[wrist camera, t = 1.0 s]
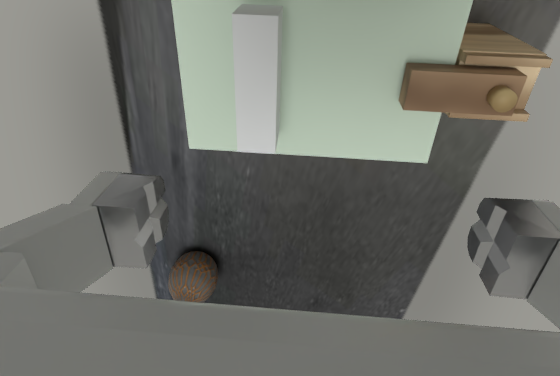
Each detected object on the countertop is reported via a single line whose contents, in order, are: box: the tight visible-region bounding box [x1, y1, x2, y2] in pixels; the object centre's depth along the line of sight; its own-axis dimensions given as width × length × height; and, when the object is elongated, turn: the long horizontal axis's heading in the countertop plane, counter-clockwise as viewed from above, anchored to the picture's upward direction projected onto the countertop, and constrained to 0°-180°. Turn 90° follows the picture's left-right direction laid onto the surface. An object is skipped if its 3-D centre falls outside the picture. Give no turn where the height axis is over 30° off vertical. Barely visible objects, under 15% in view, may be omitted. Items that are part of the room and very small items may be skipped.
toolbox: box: [444, 23, 553, 122], centre depth 34 cm, size 14×28×12 cm, turn 88°
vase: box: [168, 251, 218, 303], centre depth 55 cm, size 7×7×9 cm
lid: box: [171, 0, 473, 163], centre depth 29 cm, size 14×21×5 cm
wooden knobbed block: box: [399, 63, 528, 116], centre depth 28 cm, size 3×8×3 cm, turn 88°
